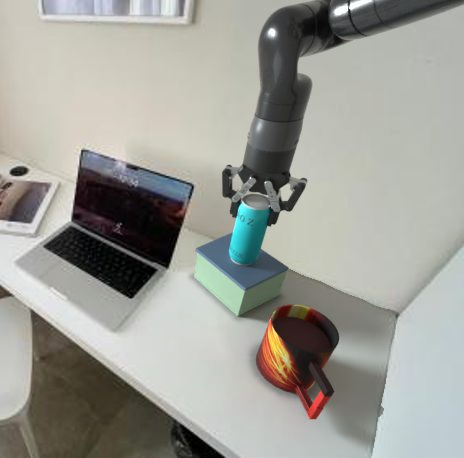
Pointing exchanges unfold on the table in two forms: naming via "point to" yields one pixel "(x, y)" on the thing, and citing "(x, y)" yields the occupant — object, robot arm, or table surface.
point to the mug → (298, 353)
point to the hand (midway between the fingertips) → (251, 219)
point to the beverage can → (249, 229)
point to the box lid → (239, 274)
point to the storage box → (235, 288)
